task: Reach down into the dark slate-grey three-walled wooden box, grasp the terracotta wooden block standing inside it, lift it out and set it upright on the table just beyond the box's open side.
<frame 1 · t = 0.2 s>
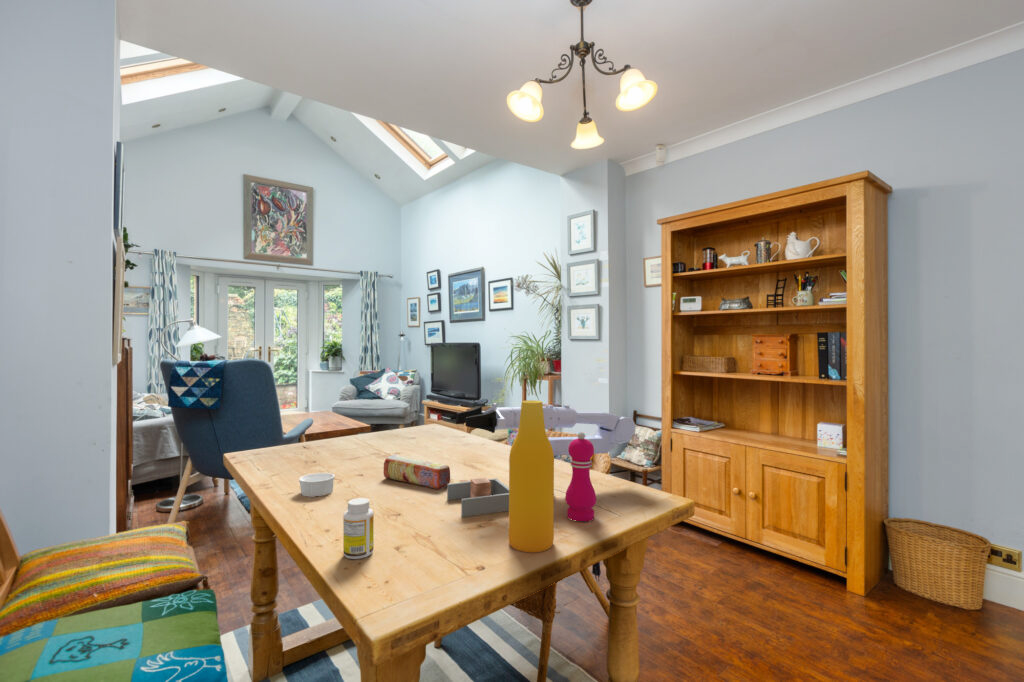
hand: (461, 419, 122), 21 cm above the table, tool horizontal, fingers open, 7 cm apart
block: (480, 492, 122), in the open side box
pepper mill: (580, 518, 113), on the table
open side box: (480, 504, 122), on the table
ramekin: (317, 493, 130), on the table
snack package: (416, 483, 140), on the table
beer bottle: (531, 544, 98), on the table
supplement bottle: (358, 555, 93), on the table
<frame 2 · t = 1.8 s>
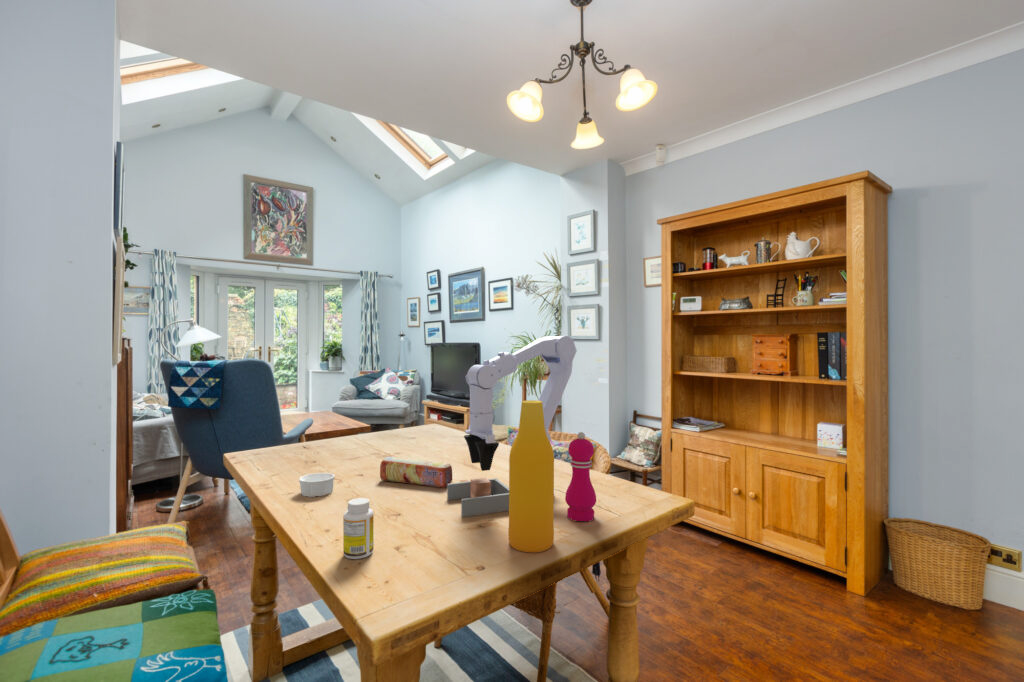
hand: (480, 466, 121), 10 cm above the table, tool pointing down, fingers open, 7 cm apart
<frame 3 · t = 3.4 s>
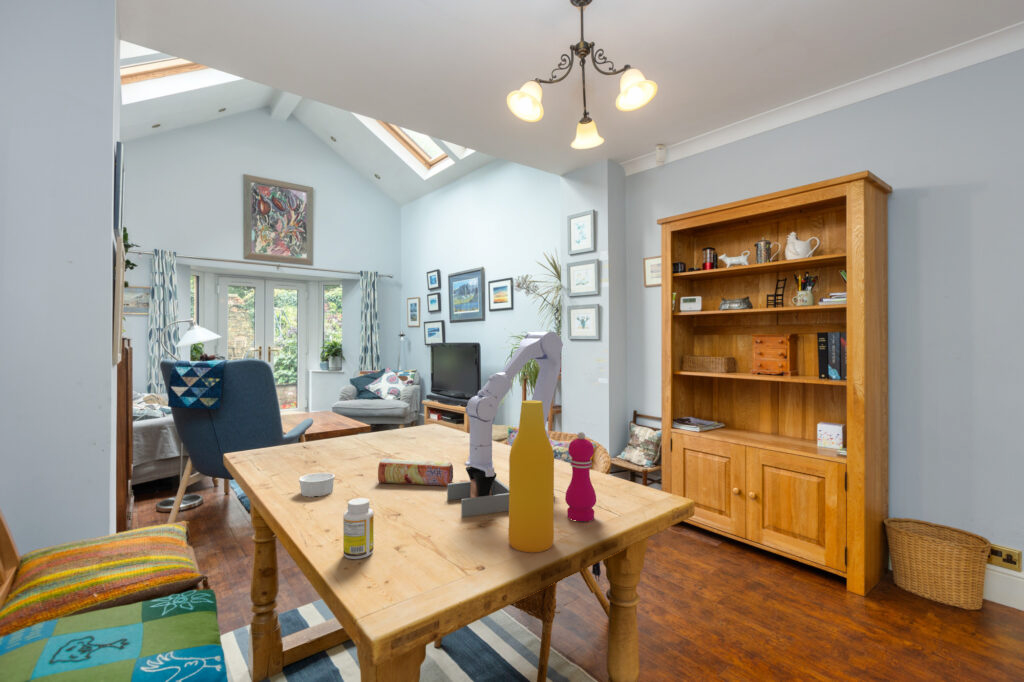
hand: (480, 497, 122), 2 cm above the table, tool pointing down, fingers closed on block, 4 cm apart
block: (480, 492, 122), in the open side box, touching gripper
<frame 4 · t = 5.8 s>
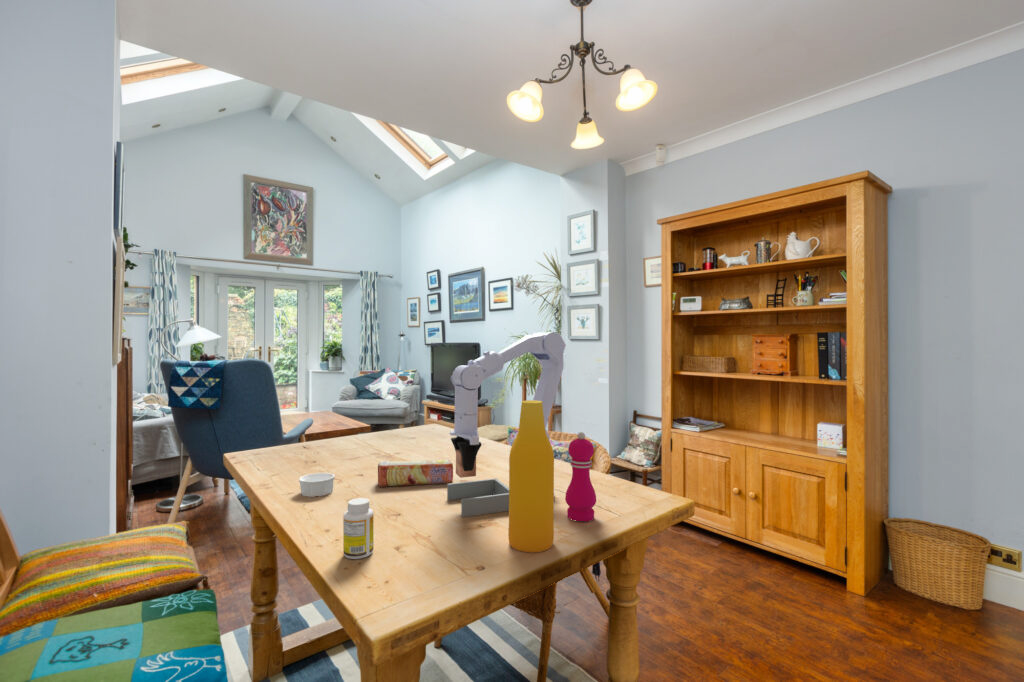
hand: (465, 468, 120), 9 cm above the table, tool pointing down, fingers closed on block, 4 cm apart
block: (465, 462, 120), point 11 cm above the table, touching gripper
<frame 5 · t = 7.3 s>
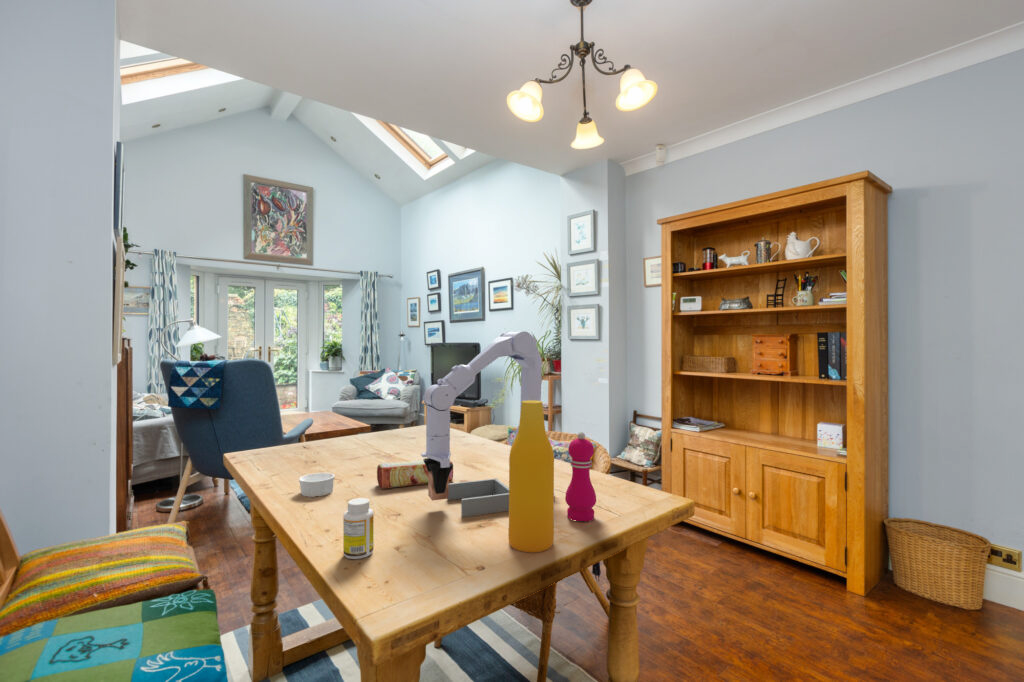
hand: (437, 490, 117), 5 cm above the table, tool pointing down, fingers closed on block, 4 cm apart
block: (438, 484, 117), point 6 cm above the table, touching gripper
when the fingers open (3 cm above the table, at t = 8.5 s): block stays where it is, on the table.
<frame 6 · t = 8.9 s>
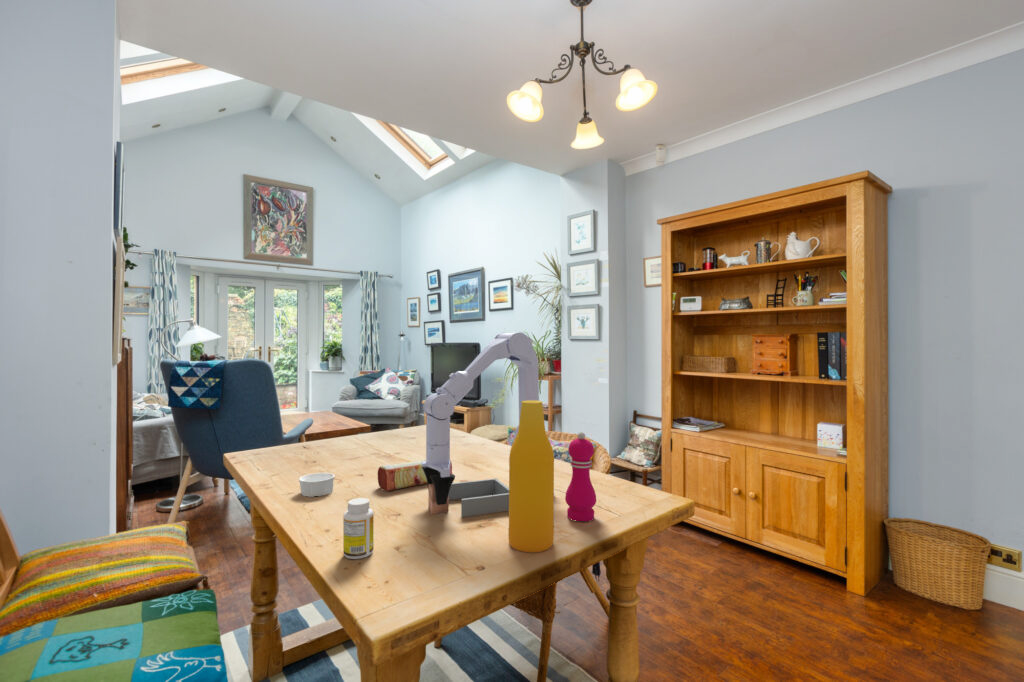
hand: (437, 499, 117), 3 cm above the table, tool pointing down, fingers open, 7 cm apart
block: (438, 497, 117), on the table
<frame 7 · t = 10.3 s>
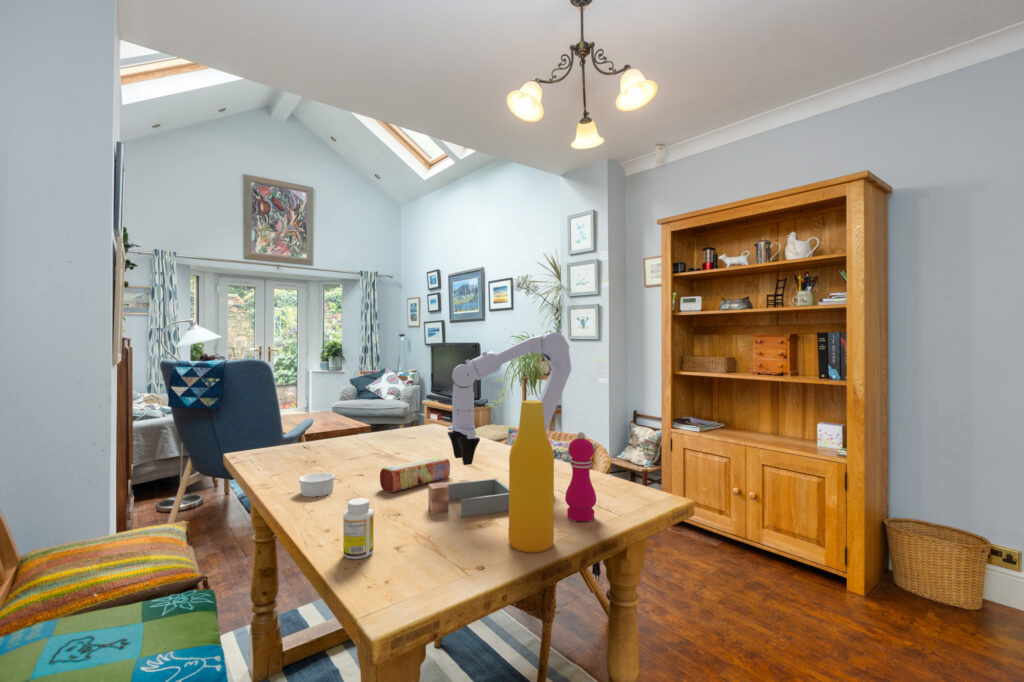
hand: (463, 461, 128), 9 cm above the table, tool pointing down, fingers open, 7 cm apart
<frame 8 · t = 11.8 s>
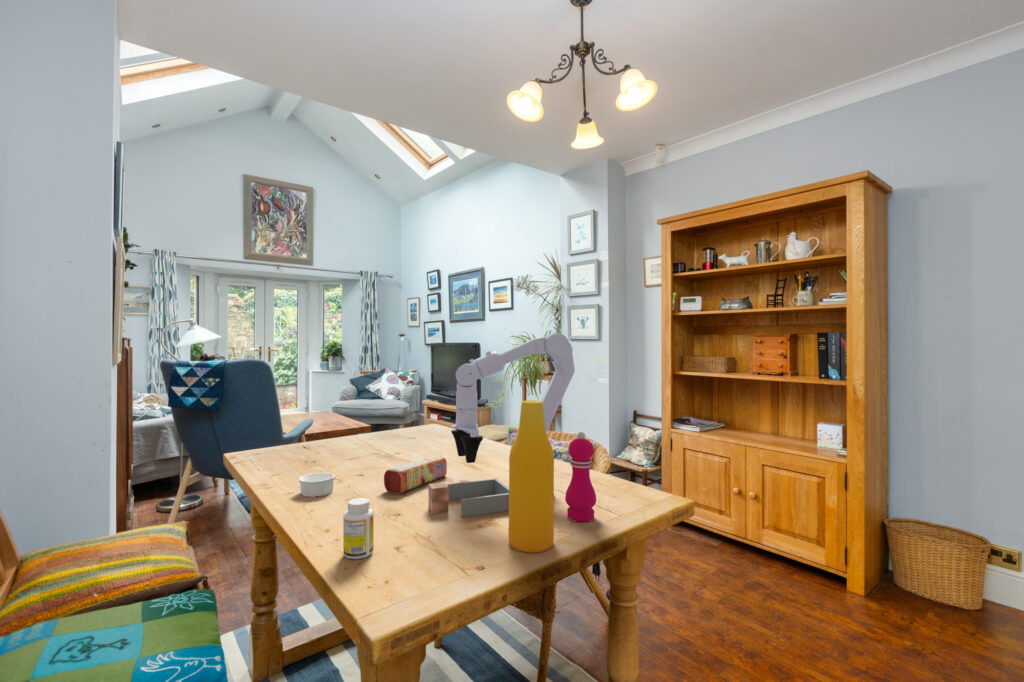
hand: (466, 459, 129), 9 cm above the table, tool pointing down, fingers open, 7 cm apart
at the end: block inside the target area on the table beside the open side box (0.9 cm from its centre), on the table; block tilted 0°; the gripper is holding nothing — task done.
